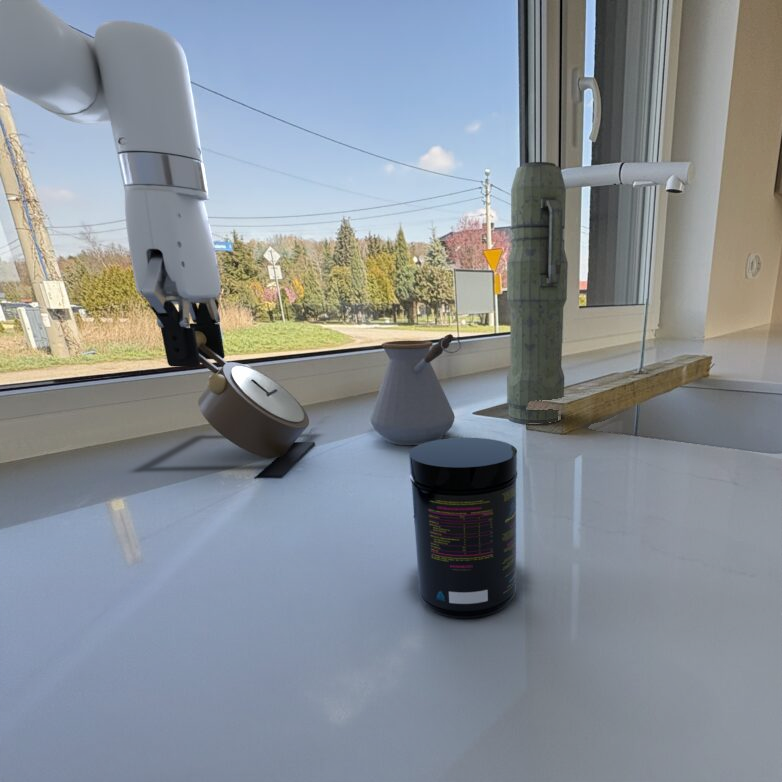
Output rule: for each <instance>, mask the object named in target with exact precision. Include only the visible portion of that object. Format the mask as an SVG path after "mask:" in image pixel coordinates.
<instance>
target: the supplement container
mask: <svg viewBox="0 0 782 782" xmlns="http://www.w3.org/2000/svg"><path fill="white" fill-rule="evenodd" d="M408 458H409V471H410V472H409V473H410V474H409V478H410V479H409V481H410V482H411V493H412V509H413V522H414V536H415V550H416V565H417V577H418V579H417V580H418V593H419V596H420V598H421V600H422V602H423V603H424V605H425V606H426V607H427V608H428V609H430V610H431V611H432V612H434V613H435V614H437V615H440V616H443V617H446V618H451V619H458V620H472V619H481V618H484V617H489V616H491V615H494V614H496V613H498V612H500V611H502V610H504V608H505V607H507V606H508V605H509V604H510V602H511V601H512V600H513V598H514V596H515V595H516V591H517V479H518V450H517V448H516V447H515V446H514V445H513V444H510V443H509V442H505V441H502V440H497V439H492V438H485V437H484V438H483V437H451V438H450V437H449V438H441V439H440V440H435V441H430V442H426V443H423V444H420V445H415V446H414V447H412V448H411V449H410V450H409V452H408Z"/></svg>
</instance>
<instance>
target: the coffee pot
mask: <svg viewBox="0 0 782 782" xmlns="http://www.w3.org/2000/svg"><path fill="white" fill-rule="evenodd" d="M453 339H454V340H456V341H457V342H458V345H459V347H458V349H456V350H454V351H449V350H447V349H448V348H449V347H450V344H451V343H452V341H453ZM380 346H381V348H383V349H384V351H385V353H386V355H387V357H388V358H389V360H388V363H387V366H386V369H385V373H384V376H383V378H382V381H381V385H380V387H379V391H378V394H377V397H376V400H375V403H374V406H373V409H372V412H371V415H370V420H369V421H370V423H371V425H372V428H373V429H374V431H375V432H376V433H378V434H379V435H380V436H381V437H383V438H385V440H386V442H388V443H390V444H394V445H400V446H418V445H420V444H423V443H426V442H430V441H435V440H441V439H443V435H446V434H447V433H448V432H449V431H450V430H451V428H452V427H453V424H454V423H455V419H456V417H455V413H454V410H453V409H452V407H451V404H450V401H449V400H448V397H447V396H446V394H445V391H444V390H443V387H442V385H441V383H440V381H439V378H438V376H437V374H436V372H435V370H434V368H433V365H432V361H433V360H435V359H436V358H438V357H439V356H440V355H442V354H443V352H446V353H448V354H455V353H457V352H458V351H459V350H461V348H462V347H461V346H462V343H461V342H460V340H459V339H458V338H457V337H455V336H453V334H452V333H450V334H447V335H445V336H443V337H440V338H439V340H438V342H437V343H435V344H434V343H433V342H432V341H428V340H394V341H386V342H383V343H381V345H380Z"/></svg>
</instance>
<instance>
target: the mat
mask: <svg viewBox="0 0 782 782" xmlns="http://www.w3.org/2000/svg"><path fill="white" fill-rule="evenodd" d="M315 445H316V442H315V441H295V442H294V443H293V445H292V446H291V447H290V448H289V449H288V451H287V452H286V453H285V454H284V455H283V456H282V457H280V458H277V457H276V458H274V459H273V461H272V462H270V463H269V464H268V465H267V466H266V467H264V469H262V470H261V471H260V472H259V473H257V474H256V476H254V477H253V479H282V478H284V477H285V476H286V475H287V473H289V472H290V471H291V469H292V468H293V467H294V466H295V465H296V464H297V463H299V462H300V460H301V459H302V458H303V457H304V456H306V454H307V453H309V452H310V450H311V449H312V448H313V447H314V446H315Z"/></svg>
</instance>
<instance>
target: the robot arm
mask: <svg viewBox="0 0 782 782" xmlns="http://www.w3.org/2000/svg"><path fill="white" fill-rule="evenodd" d="M0 86H2V87H3V88H5V89H7V90H9V91H10V92H13V93H14V94H16V95H18V96H20V97H22V98H24V99H26V100H27V101H29V102H32V103H33V104H36V105H38V106H39V107H41V108H42V109H44V110H46V111H48V112H49V113H51V114H53V115H55V116H58V117H60V118H62V119H63V120H66V121H69V122H72V123H77V124H83V125H84V124H85V125H86V124H87V125H95V124H107V123H110V126H111V131H112V137H113V141H114V146H115V151H116V155H117V159H118V165H119V170H120V175H121V179H122V186H123V189H124V215H125V224H126V225H125V226H126V234H127V242H128V248H129V255H130V261H131V267H132V273H133V279H134V284H135V288H136V290H137V293H139V295H141V297H144V298H145V301H147V303H148V304H149V305H150V308H151V311H152V312H153V313H154V315H155V316H156V323H157V326H158V328H160V332H161V337H162V341H163V345H164V346H163V347H164V351H165V356H166V362H167V364H168V366H169V367H175V368H176V367H179V368H180V367H182V368H184V367H185V368H187V367H188V368H189V367H190V368H196V367H199V366H200V365H201V363H200V357H199V353H200V354H201V355H202V356H203V357H205V358H206V359H207V360H213V359H212V358H211V357H210V356H208V355H207V354H206V353H205V352H203V351H202V350H201V349H200V348H198V346H197V341H196V335H195V331H200V332H202V333H203V334H204V335H205V337H206V344H205V345H206V346H207V347H208V348H210V349H211V350H212V351H213V352H215V353H216V354H217V355H218V356H220V357H221V358H222V359H223V360H224V359H225V357H226V355H225V349H224V343H223V337H222V331H221V324H220V323H221V317H220V314H219V307H220V305H219V304H220V303H219V299H220V295H221V277H220V271H219V270H220V269H219V264H218V263H219V262H218V257H217V253H216V248H215V243H214V237H213V233H212V229H211V225H210V220H209V217H208V212H207V209H206V208H207V207H206V205H205V202H207V201H210V197H209V190H208V185H207V177H206V171H205V165H204V159H203V152H202V147H201V140H200V133H199V128H198V127H199V126H198V121H197V115H196V108H195V107H196V106H195V101H194V96H193V89H192V82H191V76H190V70H189V65H188V60H187V56H186V52H185V50H184V49H183V46H182V45H181V43H180V42H179V41H178V40H177V39H176V38H175V37H174V36H173V35H171V34H170V33H168V32H166V31H164V30H162V29H159V28H158V27H155V26H152V25H148V24H144V23H140V22H137V21H129V20H111V21H105V22H103V23H101V24H99V25H98V26H97V28H96V30H95V32H94V37H91V36H89V35H86V34H84V33H83V32H81V31H79V30H77V29H75V28H73V27H72V26H70V25H69V24H68V23H67V22H66V21H64V20H63V19H62V18H61V17H60V16H58V15H57V14H56V13H55V12H53V10H51V9H50V8H48V7H47V6H45V5H44V4H43V3H42V2H41V1H40V0H0ZM197 304H198V305H197ZM176 305H178V309H177V307H176ZM190 317H191V318H190ZM190 319H191V321H192V322H193V323H190Z"/></svg>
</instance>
